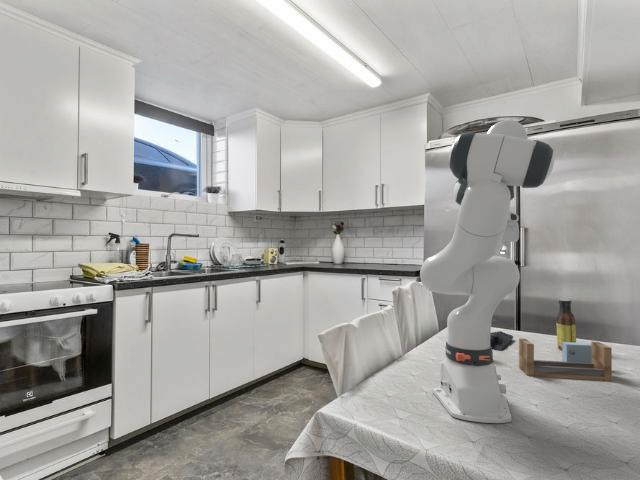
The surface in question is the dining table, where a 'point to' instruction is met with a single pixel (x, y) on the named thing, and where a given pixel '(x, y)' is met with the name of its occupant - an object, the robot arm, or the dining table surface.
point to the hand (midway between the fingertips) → (493, 255)
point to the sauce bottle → (565, 323)
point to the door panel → (576, 352)
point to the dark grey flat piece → (499, 340)
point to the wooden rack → (567, 364)
